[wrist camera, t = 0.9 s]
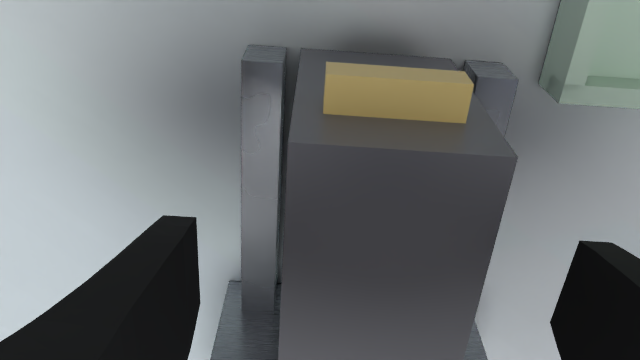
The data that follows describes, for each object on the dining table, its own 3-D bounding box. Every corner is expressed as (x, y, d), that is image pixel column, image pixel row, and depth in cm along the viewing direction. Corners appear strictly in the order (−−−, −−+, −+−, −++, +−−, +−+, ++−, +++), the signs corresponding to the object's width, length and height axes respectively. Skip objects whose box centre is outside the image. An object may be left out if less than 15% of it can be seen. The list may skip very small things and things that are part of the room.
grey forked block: (524, 64, 15) (628, 162, 10) (445, 378, 21) (484, 543, 15) (225, 43, 15) (172, 131, 10) (230, 366, 20) (198, 529, 15)
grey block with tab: (455, 28, 14) (529, 114, 9) (411, 266, 18) (446, 424, 13) (303, 17, 14) (289, 98, 9) (290, 258, 18) (275, 414, 13)
